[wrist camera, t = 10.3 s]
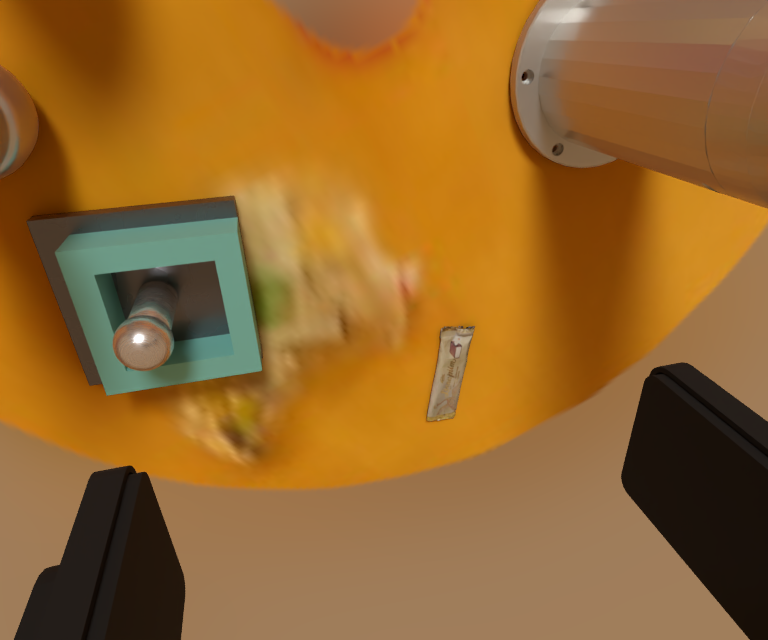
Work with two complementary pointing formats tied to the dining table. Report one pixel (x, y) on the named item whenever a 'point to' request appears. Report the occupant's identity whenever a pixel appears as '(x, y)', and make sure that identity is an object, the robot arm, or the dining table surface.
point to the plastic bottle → (15, 123)
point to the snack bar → (449, 372)
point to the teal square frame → (150, 250)
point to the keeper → (142, 283)
